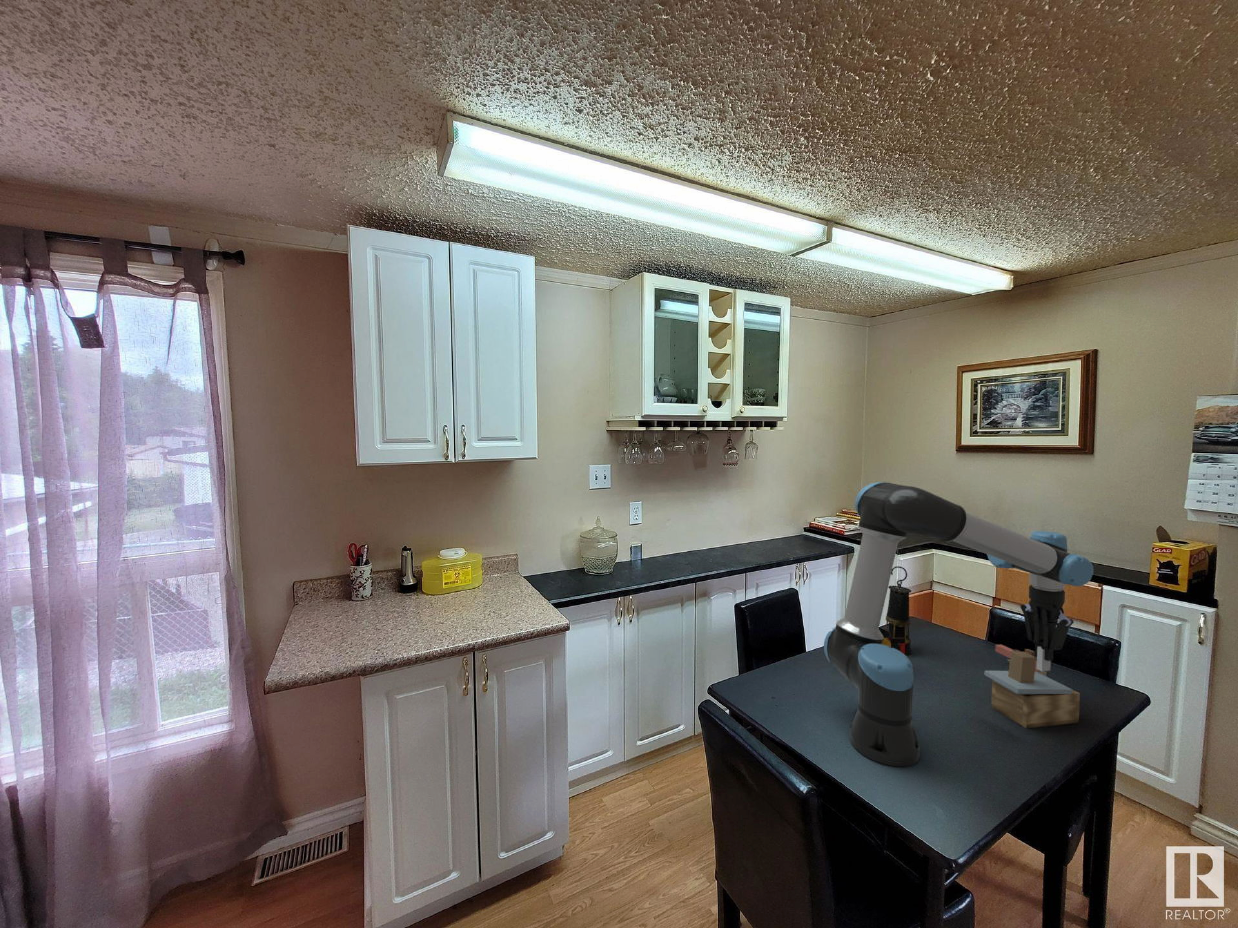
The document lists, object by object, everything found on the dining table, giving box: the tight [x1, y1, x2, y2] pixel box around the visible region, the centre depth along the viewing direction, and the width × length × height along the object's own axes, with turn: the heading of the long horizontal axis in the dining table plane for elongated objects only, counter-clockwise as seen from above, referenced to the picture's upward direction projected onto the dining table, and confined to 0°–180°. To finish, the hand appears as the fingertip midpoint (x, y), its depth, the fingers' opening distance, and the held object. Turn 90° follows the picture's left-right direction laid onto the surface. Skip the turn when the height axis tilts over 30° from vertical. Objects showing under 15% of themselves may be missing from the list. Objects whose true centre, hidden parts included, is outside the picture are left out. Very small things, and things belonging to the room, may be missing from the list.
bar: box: [995, 644, 1040, 672], centre depth 142 cm, size 2×13×2 cm, turn 8°
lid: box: [983, 651, 1073, 695], centre depth 130 cm, size 16×10×9 cm, turn 96°
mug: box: [879, 627, 906, 656], centre depth 159 cm, size 10×14×12 cm
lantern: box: [885, 565, 912, 656], centre depth 171 cm, size 9×9×30 cm
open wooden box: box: [990, 679, 1081, 729], centre depth 131 cm, size 16×10×8 cm, turn 98°
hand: (1043, 669), depth 135 cm, fingers closed
